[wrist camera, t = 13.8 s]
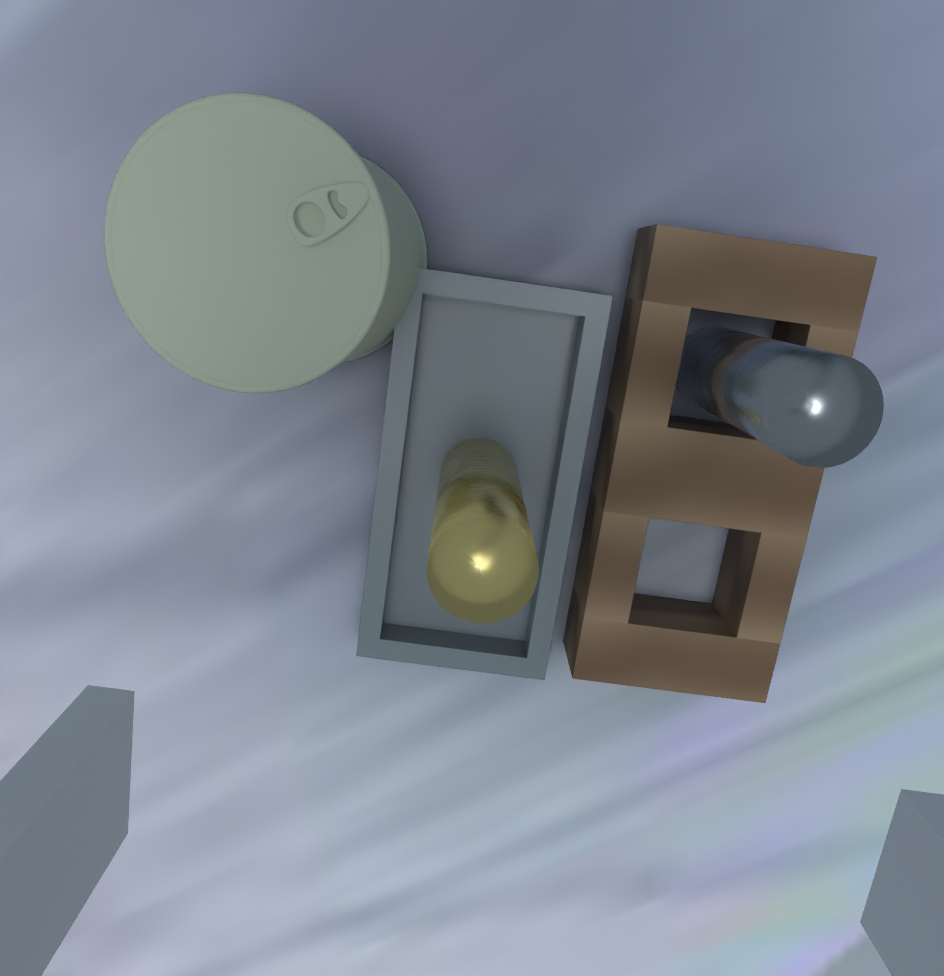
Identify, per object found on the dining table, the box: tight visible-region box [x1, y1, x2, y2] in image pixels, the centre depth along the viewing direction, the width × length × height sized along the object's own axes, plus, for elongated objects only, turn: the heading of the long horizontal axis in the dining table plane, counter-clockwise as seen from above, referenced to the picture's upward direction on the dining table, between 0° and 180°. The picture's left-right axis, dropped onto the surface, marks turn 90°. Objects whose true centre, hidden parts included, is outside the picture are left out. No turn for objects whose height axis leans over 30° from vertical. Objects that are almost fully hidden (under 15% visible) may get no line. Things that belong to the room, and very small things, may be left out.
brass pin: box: [427, 438, 539, 623], centre depth 33 cm, size 4×4×13 cm
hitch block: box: [563, 224, 877, 703], centre depth 38 cm, size 20×9×4 cm, turn 172°
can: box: [104, 93, 427, 393], centre depth 32 cm, size 9×9×12 cm
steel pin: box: [676, 327, 883, 468], centre depth 33 cm, size 4×4×13 cm
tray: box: [356, 268, 613, 680], centre depth 39 cm, size 18×9×2 cm, turn 172°
